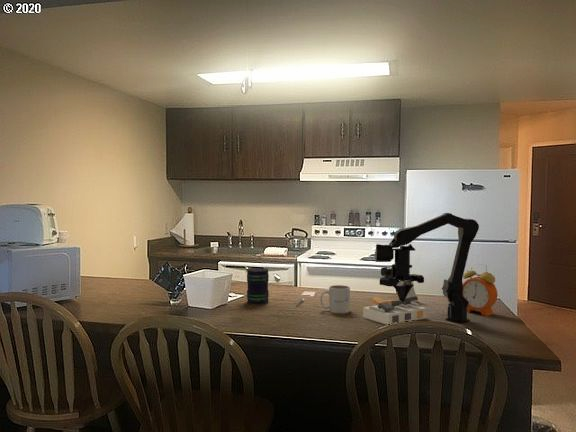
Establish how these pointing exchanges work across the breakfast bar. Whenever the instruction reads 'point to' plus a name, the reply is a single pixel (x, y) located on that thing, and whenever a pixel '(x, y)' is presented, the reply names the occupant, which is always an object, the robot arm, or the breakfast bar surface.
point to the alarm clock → (480, 292)
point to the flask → (412, 293)
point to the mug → (338, 299)
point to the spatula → (304, 299)
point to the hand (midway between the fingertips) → (401, 302)
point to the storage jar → (257, 286)
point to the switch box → (395, 313)
